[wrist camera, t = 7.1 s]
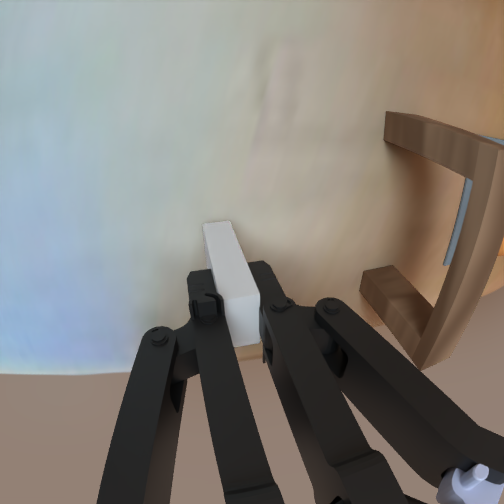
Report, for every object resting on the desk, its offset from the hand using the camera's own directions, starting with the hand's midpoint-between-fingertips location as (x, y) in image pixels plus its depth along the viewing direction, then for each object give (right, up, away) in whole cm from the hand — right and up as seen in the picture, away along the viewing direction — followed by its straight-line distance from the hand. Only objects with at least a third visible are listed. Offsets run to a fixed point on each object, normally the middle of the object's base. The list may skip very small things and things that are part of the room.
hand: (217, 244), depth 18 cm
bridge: (+12, +3, +4) cm, 13 cm away
